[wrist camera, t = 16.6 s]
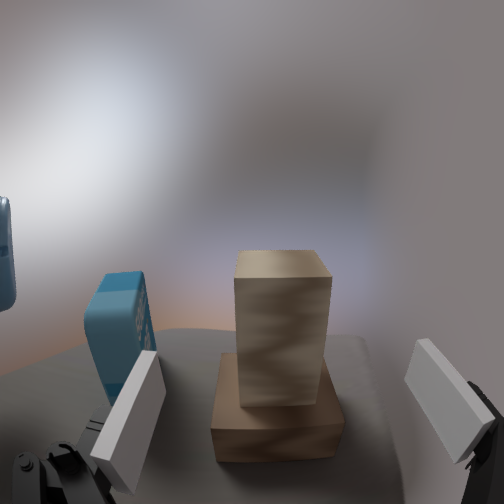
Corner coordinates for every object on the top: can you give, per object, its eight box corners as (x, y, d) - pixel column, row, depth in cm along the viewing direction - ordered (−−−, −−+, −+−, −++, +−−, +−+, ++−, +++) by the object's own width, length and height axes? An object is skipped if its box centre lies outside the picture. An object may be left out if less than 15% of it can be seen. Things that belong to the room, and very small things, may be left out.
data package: (158, 418, 24) (131, 314, 21) (116, 419, 23) (80, 318, 20) (157, 352, 35) (143, 266, 32) (125, 354, 34) (106, 269, 31)
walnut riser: (216, 461, 20) (210, 428, 18) (224, 388, 29) (221, 352, 28) (333, 456, 20) (345, 422, 18) (315, 386, 29) (321, 350, 28)
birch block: (239, 406, 21) (233, 277, 18) (242, 362, 26) (238, 250, 23) (315, 404, 21) (332, 276, 17) (305, 361, 26) (314, 250, 23)
